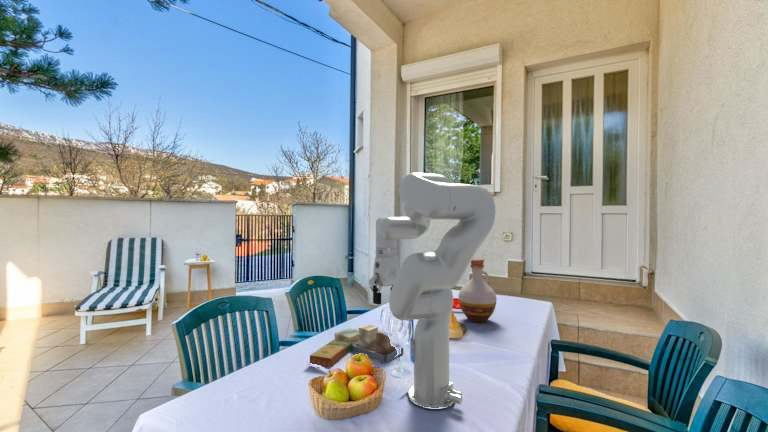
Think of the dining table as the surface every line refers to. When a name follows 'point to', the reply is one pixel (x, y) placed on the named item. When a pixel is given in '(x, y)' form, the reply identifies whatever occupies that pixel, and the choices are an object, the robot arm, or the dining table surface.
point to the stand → (348, 335)
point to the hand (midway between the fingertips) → (386, 301)
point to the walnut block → (383, 343)
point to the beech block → (368, 337)
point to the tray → (374, 353)
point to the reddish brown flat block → (331, 353)
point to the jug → (477, 295)
